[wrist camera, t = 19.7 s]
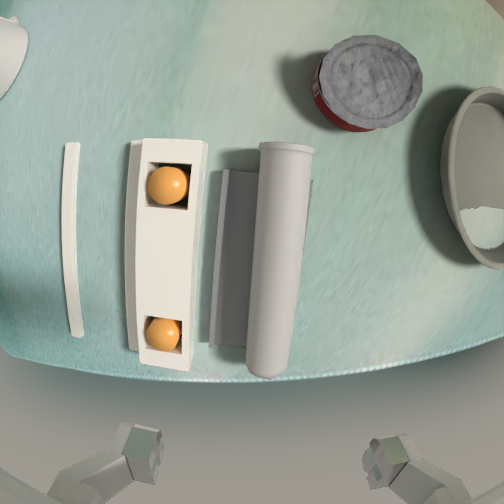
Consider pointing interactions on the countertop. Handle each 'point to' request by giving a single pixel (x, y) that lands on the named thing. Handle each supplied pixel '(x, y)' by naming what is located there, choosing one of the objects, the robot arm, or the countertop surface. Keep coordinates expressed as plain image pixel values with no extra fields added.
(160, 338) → the rear plunger
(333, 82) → the canned food
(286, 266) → the tube
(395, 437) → the robot arm
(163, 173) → the front plunger
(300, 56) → the countertop surface
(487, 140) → the cake pan
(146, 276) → the housing
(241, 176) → the tray
